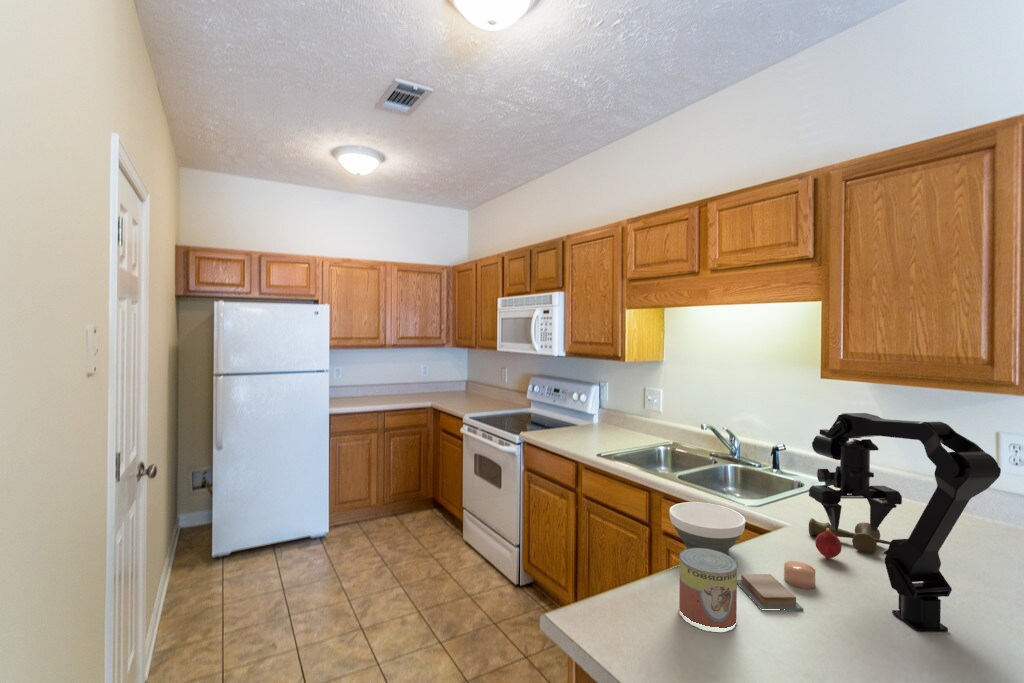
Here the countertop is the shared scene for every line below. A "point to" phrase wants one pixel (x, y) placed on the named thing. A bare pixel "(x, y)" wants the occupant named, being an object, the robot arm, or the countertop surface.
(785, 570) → the peach rounded knob
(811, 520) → the kendama
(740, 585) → the mat
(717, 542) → the bowl
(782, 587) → the cover
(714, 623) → the canned food
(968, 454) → the robot arm
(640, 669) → the countertop surface
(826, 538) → the onion
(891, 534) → the countertop surface
